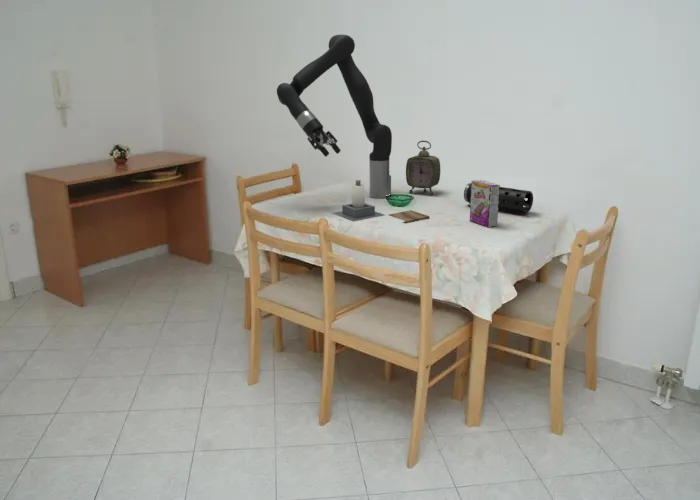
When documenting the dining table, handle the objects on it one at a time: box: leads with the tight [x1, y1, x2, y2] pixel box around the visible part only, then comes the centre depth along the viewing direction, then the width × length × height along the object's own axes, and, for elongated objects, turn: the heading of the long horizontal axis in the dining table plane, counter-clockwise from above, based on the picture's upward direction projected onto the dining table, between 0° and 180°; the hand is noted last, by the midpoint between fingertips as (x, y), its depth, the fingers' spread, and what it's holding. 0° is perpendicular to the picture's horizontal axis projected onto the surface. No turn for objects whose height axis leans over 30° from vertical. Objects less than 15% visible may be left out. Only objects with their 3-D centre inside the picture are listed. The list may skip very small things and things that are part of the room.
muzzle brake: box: [463, 182, 534, 216], centre depth 248 cm, size 10×28×10 cm, turn 47°
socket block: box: [332, 202, 385, 222], centre depth 243 cm, size 16×16×4 cm
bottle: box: [351, 179, 366, 209], centre depth 241 cm, size 5×5×14 cm
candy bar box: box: [469, 179, 501, 228], centre depth 228 cm, size 11×5×16 cm, turn 29°
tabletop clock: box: [405, 140, 441, 197], centre depth 277 cm, size 14×9×25 cm, turn 58°
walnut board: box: [388, 210, 430, 224], centre depth 240 cm, size 12×12×1 cm
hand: (333, 153), depth 241 cm, fingers open, 8 cm apart
